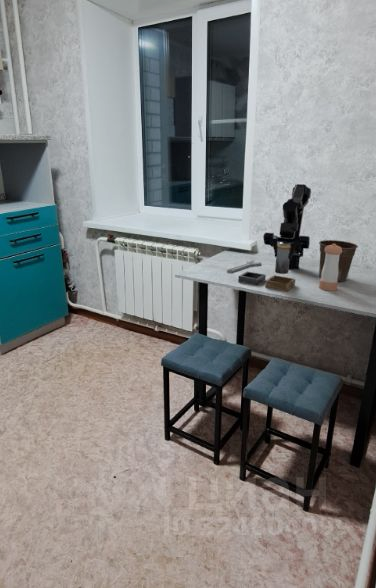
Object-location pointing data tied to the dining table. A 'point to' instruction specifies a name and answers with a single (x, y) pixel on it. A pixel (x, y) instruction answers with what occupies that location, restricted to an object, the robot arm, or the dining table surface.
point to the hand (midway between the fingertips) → (282, 257)
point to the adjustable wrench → (244, 266)
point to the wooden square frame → (280, 283)
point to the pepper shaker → (330, 268)
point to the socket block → (252, 278)
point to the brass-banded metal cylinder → (282, 257)
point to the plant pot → (344, 257)
